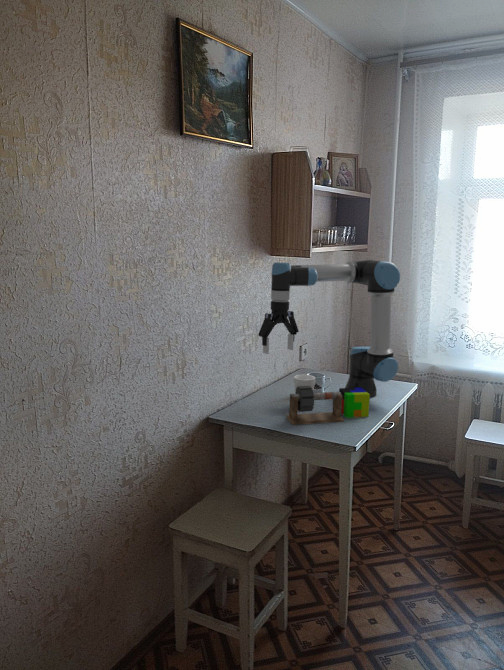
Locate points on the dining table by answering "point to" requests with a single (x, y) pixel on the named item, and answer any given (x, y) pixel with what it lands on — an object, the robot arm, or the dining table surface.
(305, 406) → the dark gray notched block
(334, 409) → the pipe rig
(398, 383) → the dining table surface
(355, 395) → the puzzle toy
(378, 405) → the dining table surface
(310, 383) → the foam cup
